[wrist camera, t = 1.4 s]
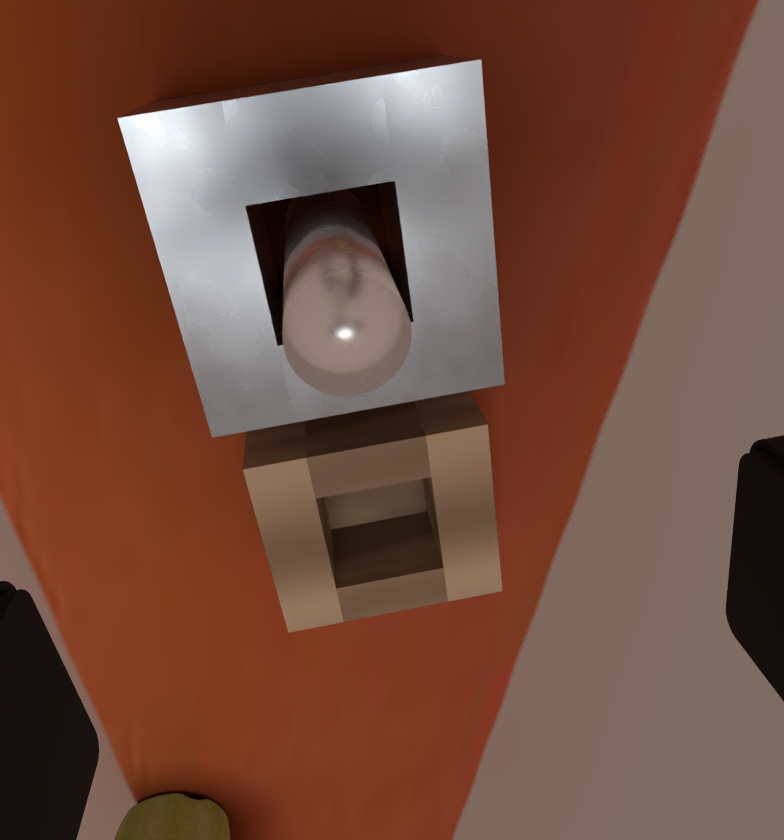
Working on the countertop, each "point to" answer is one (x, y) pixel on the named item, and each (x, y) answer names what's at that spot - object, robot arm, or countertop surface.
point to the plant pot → (175, 820)
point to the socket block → (312, 174)
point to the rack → (376, 509)
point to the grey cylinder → (339, 298)
